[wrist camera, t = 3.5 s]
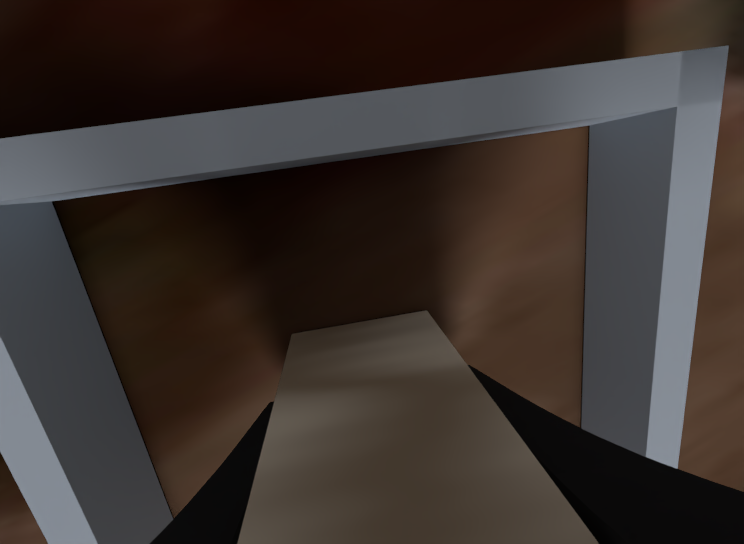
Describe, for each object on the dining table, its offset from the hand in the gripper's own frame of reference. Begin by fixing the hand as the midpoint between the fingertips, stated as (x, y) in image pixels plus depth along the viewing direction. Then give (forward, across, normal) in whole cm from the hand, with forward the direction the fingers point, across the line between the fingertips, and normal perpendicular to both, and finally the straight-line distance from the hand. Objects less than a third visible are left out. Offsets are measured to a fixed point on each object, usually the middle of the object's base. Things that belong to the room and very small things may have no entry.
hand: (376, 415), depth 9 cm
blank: (+2, 0, 0) cm, 2 cm away
